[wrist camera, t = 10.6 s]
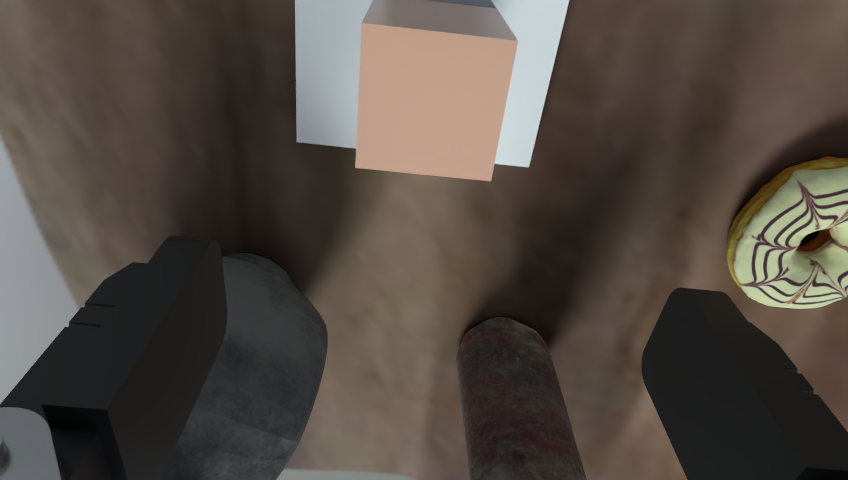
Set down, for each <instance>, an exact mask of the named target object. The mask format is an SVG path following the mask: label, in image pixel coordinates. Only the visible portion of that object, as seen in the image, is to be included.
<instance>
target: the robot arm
mask: <svg viewBox="0 0 848 480" xmlns="http://www.w3.org/2000/svg"><path fill="white" fill-rule="evenodd" d="M226 325H227V302H226V292H225V282H224V272H223V263H222V253H221V248H220V245H219V243H218V241H216V240H207V239H197V238H187V237H177V236H170V237H168V238H167V239H166V240H165V241H164V242H163V243H162V245H161V246H160V247H159V249H158V250H157V251H156V253H155V254H154V255H153V257H152V258H151V259H150V261H149V262H148V263H147V264H146V263H135V262H133V263H131V264H129V265H128V266H126V267H125V268H123V269H121V270H120V271H118V272H116V273H115V274H113V275H112V276H110V277H108V278H107V279H105V280H104V281H103V282H102V283H101V284H100V286H99V287H98V288H97V289H96V290H95V292H94V293H93V294H92V295H91V296H90V298H89V299H88V300H87V301H86V302H85V307H84V308H83V307H81V308H80V310H79V311H78V312H77V313H76V314H75V316H74V317H73V318H72V319H71V320H70V322H69V327H65V328H64V329H63V330H62V331H61V332H60V334H59V335H58V336H57V337H56V338H55V340H54V341H53V342H52V343H51V344H50V346H49V347H48V348H47V349H46V350H45V351H44V353H43V354H42V355H41V356H40V357H39V359H38V360H37V361H36V362H35V364H34V365H33V366H32V367H31V368H30V370H29V371H28V372H27V373H26V374H25V375H24V377H23V378H22V379H21V380H20V382H19V383H18V384H17V385H16V386H15V388H14V389H13V390H12V391H11V392H10V394H9V395H8V396H7V397H6V398H5V399H4V401H3V402H2V403H1V404H0V480H161V478H162V476H163V473H164V471H165V469H166V467H167V465H168V462H169V460H170V458H171V456H172V454H173V451H174V449H175V447H176V445H177V443H178V440H179V438H180V436H181V434H182V432H183V429H184V427H185V425H186V423H187V420H188V418H189V416H190V414H191V412H192V409H193V407H194V405H195V403H196V401H197V398H198V396H199V394H200V392H201V390H202V387H203V385H204V383H205V381H206V379H207V376H208V374H209V372H210V370H211V367H212V365H213V363H214V361H215V359H216V356H217V354H218V352H219V350H220V348H221V345H222V342H223V339H224V336H225V331H226ZM642 376H643V380H644V383H645V386H646V388H647V390H648V393H649V395H650V397H651V399H652V401H653V404H654V406H655V408H656V410H657V413H658V415H659V417H660V419H661V421H662V424H663V426H664V428H665V430H666V433H667V435H668V437H669V439H670V442H671V444H672V446H673V448H674V450H675V453H676V455H677V457H678V459H679V462H680V464H681V466H682V468H683V470H684V473H685V475H686V477H687V479H688V480H848V432H847V431H846V430H845V428H844V427H843V426H842V425H841V423H840V422H839V421H838V419H837V418H836V417H835V416H834V414H833V413H832V412H831V411H830V409H829V408H828V407H827V405H826V404H825V403H824V402H823V400H822V399H821V398H820V397H819V395H815V394H814V393H813V390H814V389H813V388H812V386H811V385H810V384H809V383H808V381H807V380H806V379H805V378H804V376H803V375H802V374H798V373H797V367H796V366H795V365H794V364H793V362H792V361H791V360H790V358H789V357H788V356H787V355H786V353H785V352H784V351H783V350H782V348H781V347H780V346H779V345H778V344H777V343H776V342H775V341H773V340H772V339H771V338H770V337H768V336H767V335H766V334H765V333H763V332H762V331H761V330H760V329H758V328H757V327H756V326H754V325H753V324H752V323H749V322H748V321H747V320H746V318H745V317H744V316H743V315H742V313H741V312H740V311H739V309H738V308H737V307H736V305H735V304H734V303H733V301H732V300H731V299H730V297H729V296H728V295H727V294H725V293H723V292H720V291H710V290H699V289H689V288H677V289H675V290H674V291H673V292H672V293H671V294H670V296H669V298H668V300H667V302H666V304H665V306H664V308H663V310H662V312H661V315H660V317H659V319H658V321H657V323H656V325H655V327H654V330H653V332H652V334H651V336H650V338H649V340H648V342H647V345H646V347H645V349H644V352H643V356H642Z"/></svg>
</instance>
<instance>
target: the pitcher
mask: <svg viewBox="0 0 848 480" xmlns="http://www.w3.org/2000/svg"><path fill="white" fill-rule="evenodd" d="M222 263H223V272H224V282H225V292H226V302H227V325H226V331H225V336H224V339H223V342H222V345H221V348H220V350H219V352H218V354H217V356H216V359H215V361H214V363H213V365H212V367H211V370H210V372H209V374H208V376H207V379H206V381H205V383H204V385H203V387H202V390H201V392H200V394H199V396H198V398H197V401H196V403H195V405H194V407H193V409H192V412H191V414H190V416H189V418H188V420H187V423H186V425H185V427H184V429H183V432H182V434H181V436H180V438H179V440H178V443H177V445H176V447H175V449H174V451H173V454H172V456H171V458H170V460H169V462H168V465H167V467H166V469H165V471H164V473H163V476H162V478H161V480H276V479H277V478H278V476H279V475H280V473H281V472H282V471H283V469H284V467H285V466H286V464H287V462H288V461H289V459H290V457H291V456H292V454H293V453H294V451H295V449H296V447H297V445H298V443H299V441H300V439H301V437H302V434H303V432H304V430H305V427H306V424H307V422H308V419H309V416H310V414H311V411H312V408H313V405H314V402H315V399H316V396H317V393H318V390H319V386H320V382H321V378H322V374H323V370H324V366H325V360H326V353H327V329H326V324H325V323H324V321H323V319H322V317H321V315H320V314H319V313H318V311H317V310H316V309H315V307H314V306H313V305H312V304H311V302H310V301H309V300H308V298H306V297H305V296H304V295H303V294H302V293H301V292H300V291H299V290H298V289H297V288H295V287H294V285H293V283H292V281H291V279H290V277H289V276H288V274H287V272H286V271H285V270H283V269H282V268H281V267H279V266H278V265H277V264H275V263H274V262H273V261H271V260H270V259H267V258H264V257H261V256H258V255H255V254H252V253H233V254H229V255H226V256H224V257H222Z"/></svg>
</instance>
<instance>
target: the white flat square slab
mask: <svg viewBox="0 0 848 480" xmlns="http://www.w3.org/2000/svg"><path fill="white" fill-rule="evenodd" d="M372 1H373V0H295V44H296V132H297V142H300V143H310V144H319V145H328V146H337V147H346V148H356V141H357V117H358V94H359V71H360V47H361V24H362V21H363V19H364V17H365V15H366V13H367V11H368V9H369V7H370V5H371V3H372ZM491 1H492V2H493V4H494V5H495V7H496V8H497V9H498V11H499V12H500V14H501V15H502V17H503V18H504V20H505V21H506V23H507V25H508V26H509V28H510V29H511V31H512V32H513V34H514V35H515V37H516V38H517V40H518V44H517V49H516V55H515V60H514V65H513V70H512V75H511V80H510V85H509V91H508V96H507V101H506V106H505V111H504V116H503V122H502V127H501V132H500V137H499V142H498V147H497V152H496V158H495V163H494V164H503V165H512V166H521V167H529V164H530V160H531V156H532V152H533V148H534V144H535V140H536V135H537V131H538V127H539V123H540V119H541V115H542V111H543V107H544V102H545V98H546V94H547V90H548V86H549V82H550V78H551V74H552V69H553V65H554V61H555V57H556V53H557V49H558V45H559V40H560V36H561V32H562V28H563V24H564V20H565V16H566V12H567V7H568V3H569V0H491Z"/></svg>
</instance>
